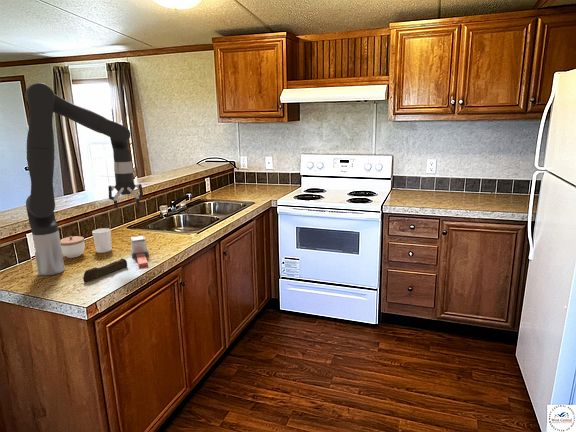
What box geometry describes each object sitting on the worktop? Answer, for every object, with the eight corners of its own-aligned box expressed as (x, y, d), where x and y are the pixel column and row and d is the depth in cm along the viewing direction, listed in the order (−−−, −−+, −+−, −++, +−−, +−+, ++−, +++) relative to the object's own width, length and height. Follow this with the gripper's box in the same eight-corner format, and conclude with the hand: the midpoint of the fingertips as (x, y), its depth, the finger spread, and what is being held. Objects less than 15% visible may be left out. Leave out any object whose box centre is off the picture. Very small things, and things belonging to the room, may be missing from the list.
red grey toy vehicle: (134, 268, 168) (133, 257, 167) (131, 253, 187) (130, 243, 186) (152, 265, 171) (151, 254, 170) (147, 251, 190) (145, 241, 188)
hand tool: (122, 266, 172) (121, 256, 171) (128, 267, 170) (126, 257, 169) (80, 282, 157) (78, 270, 155) (86, 284, 154) (84, 272, 153)
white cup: (109, 246, 197) (106, 227, 194) (115, 250, 191) (113, 230, 189) (92, 250, 192) (89, 230, 189) (98, 254, 186) (95, 234, 184)
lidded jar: (82, 258, 181) (79, 238, 179) (56, 260, 179) (53, 240, 177) (89, 250, 191) (86, 232, 189) (65, 252, 190) (62, 233, 187)
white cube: (132, 253, 181) (131, 240, 179) (131, 249, 186) (130, 237, 185) (146, 251, 183) (145, 239, 182) (145, 247, 189) (144, 235, 187)
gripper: (106, 173, 170) (110, 210, 174) (141, 171, 175) (144, 207, 179) (106, 171, 177) (110, 207, 180) (140, 170, 182) (143, 204, 186)
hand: (127, 207), depth 180 cm, fingers open, 8 cm apart
